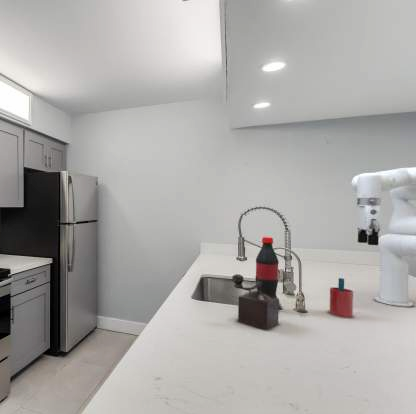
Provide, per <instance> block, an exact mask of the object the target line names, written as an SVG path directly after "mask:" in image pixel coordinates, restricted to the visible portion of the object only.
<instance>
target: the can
mask: <svg viewBox="0 0 416 414" xmlns="http://www.w3.org/2000/svg"><path fill="white" fill-rule="evenodd" d="M329 314H330V315H333V316H335V317H339V318H348V319H349V318H350V319H351V318H353V316H354V290H352V289H349V288H344V292H343V291H338V287H330V288H329Z"/></svg>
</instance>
